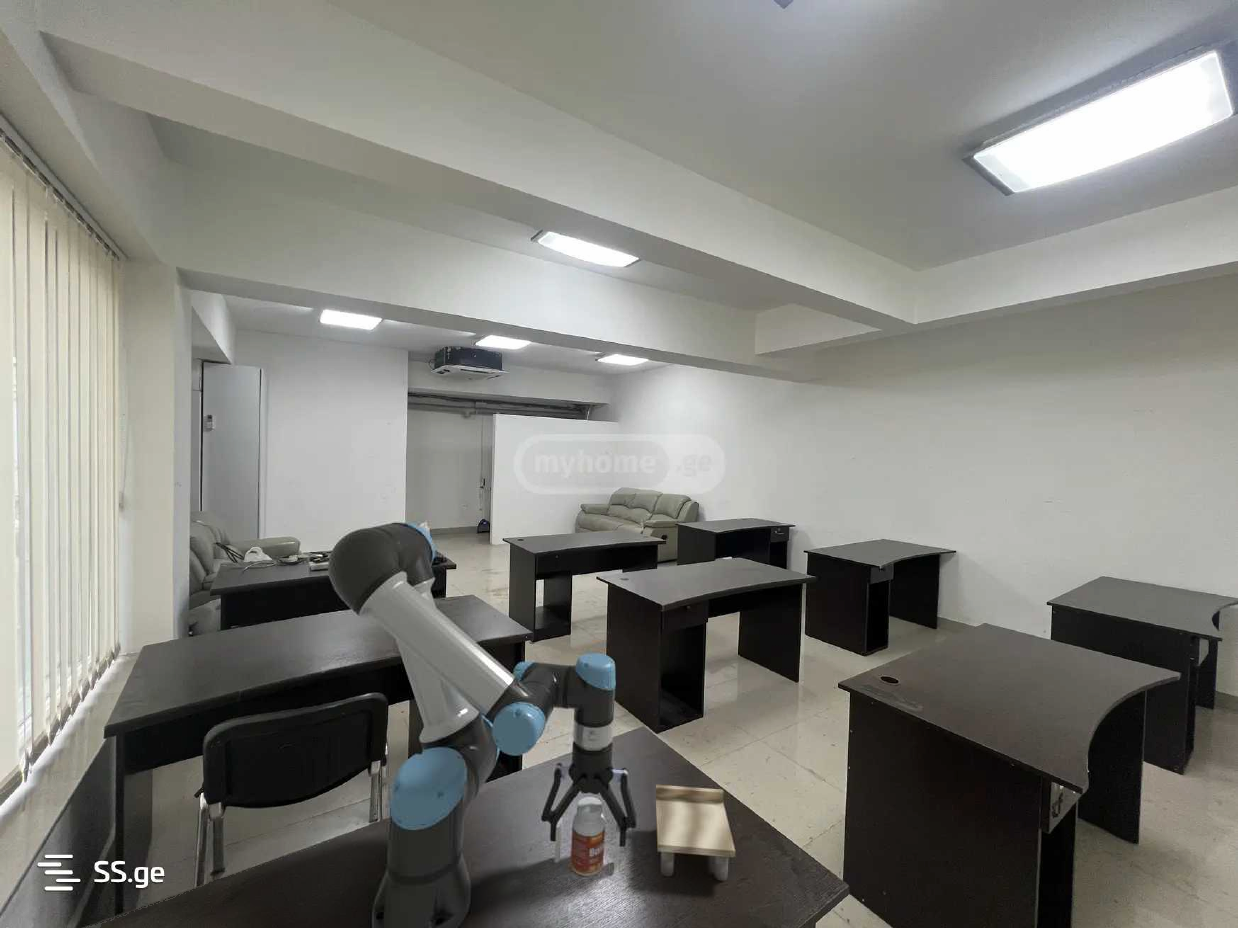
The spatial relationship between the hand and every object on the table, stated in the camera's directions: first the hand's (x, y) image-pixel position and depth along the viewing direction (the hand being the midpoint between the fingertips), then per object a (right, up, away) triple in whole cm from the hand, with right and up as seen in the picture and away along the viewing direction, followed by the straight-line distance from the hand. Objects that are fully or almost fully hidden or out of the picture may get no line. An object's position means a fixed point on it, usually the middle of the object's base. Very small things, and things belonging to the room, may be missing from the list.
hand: (587, 859), depth 92 cm
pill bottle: (0, -1, 0) cm, 1 cm away
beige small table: (+20, -2, +4) cm, 21 cm away
